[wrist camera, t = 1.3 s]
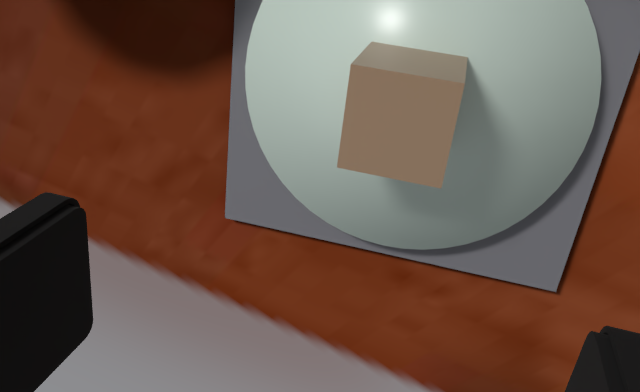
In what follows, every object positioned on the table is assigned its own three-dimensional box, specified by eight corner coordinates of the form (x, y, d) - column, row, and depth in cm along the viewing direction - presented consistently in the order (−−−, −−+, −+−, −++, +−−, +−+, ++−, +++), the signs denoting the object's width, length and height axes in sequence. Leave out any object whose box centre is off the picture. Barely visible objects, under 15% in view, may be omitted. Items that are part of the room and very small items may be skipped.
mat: (687, -100, 22) (692, -100, 21) (554, 285, 29) (555, 291, 29) (247, -149, 25) (242, -151, 24) (229, 213, 32) (224, 217, 32)
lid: (652, -73, 22) (700, -72, 17) (540, 269, 28) (552, 341, 24) (263, -120, 24) (210, -130, 19) (244, 204, 31) (199, 257, 26)
